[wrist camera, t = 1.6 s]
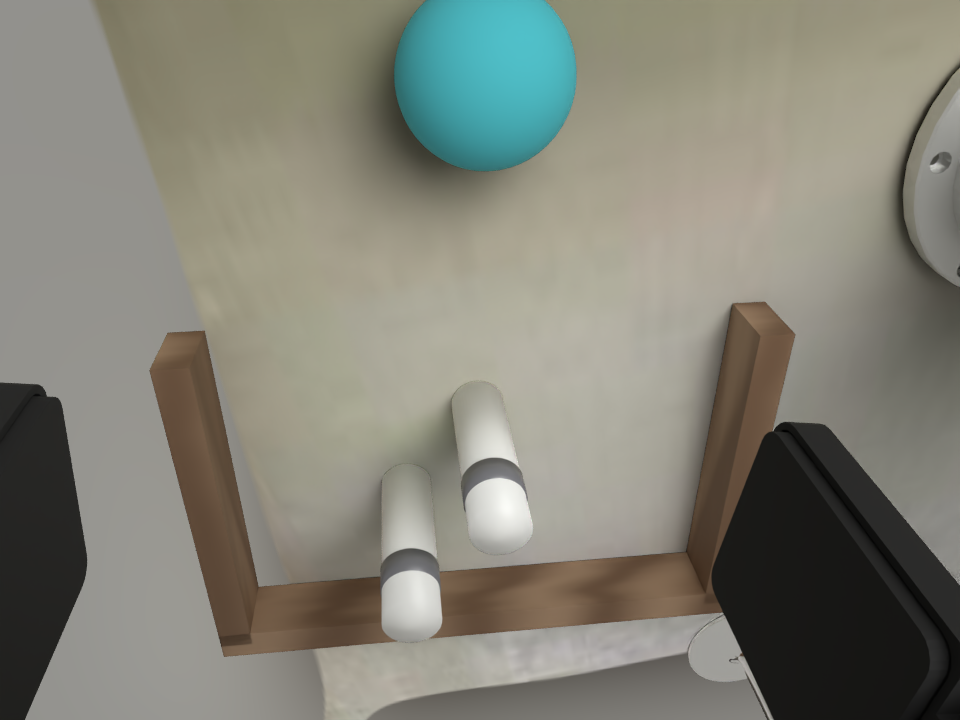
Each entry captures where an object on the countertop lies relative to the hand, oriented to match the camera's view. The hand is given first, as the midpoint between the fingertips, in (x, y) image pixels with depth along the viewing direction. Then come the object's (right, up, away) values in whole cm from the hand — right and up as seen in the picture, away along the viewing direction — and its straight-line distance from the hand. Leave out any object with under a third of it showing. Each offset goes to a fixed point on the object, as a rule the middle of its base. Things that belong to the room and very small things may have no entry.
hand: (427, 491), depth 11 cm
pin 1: (-3, -4, +27) cm, 28 cm away
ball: (+1, +11, +15) cm, 19 cm away
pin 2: (+1, 0, +25) cm, 25 cm away
